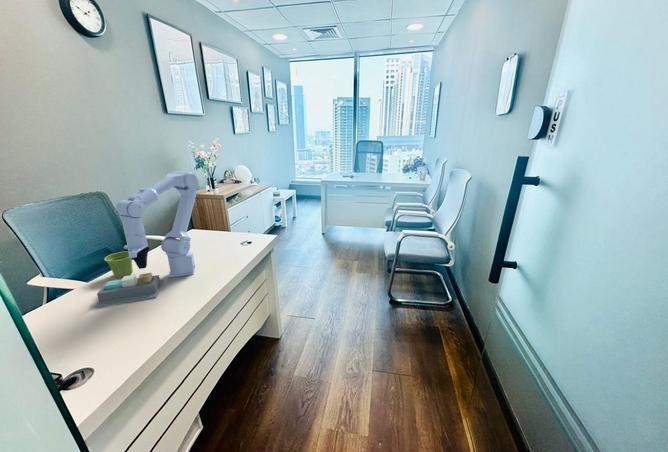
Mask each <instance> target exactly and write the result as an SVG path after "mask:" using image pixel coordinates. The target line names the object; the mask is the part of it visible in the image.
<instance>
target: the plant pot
mask: <svg viewBox="0 0 668 452" xmlns="http://www.w3.org/2000/svg"><path fill="white" fill-rule="evenodd" d="M128 253H129V251H119V252H115V253H111V254H108V255H107V256H105V257H104V262H106V263H107V264H108V265H109V268H110V269H111V272H112V273H113V276H114V277H115V278H117V279H119V278H123V277H124V276H130V275H133V259H132V258H129V255H128Z"/></svg>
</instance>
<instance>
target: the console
mask: <svg viewBox="0 0 668 452" xmlns="http://www.w3.org/2000/svg"><path fill="white" fill-rule="evenodd" d="M136 278H137V284H136V286H130V287H122V283H121V286H120V287H119V288H116V289H109V290H105V285H106V284H107V282H108V281H106V282H105V283H104V284H103V286H102V287H101V288H100V289H99V290H98V291H97V293H96V295H97V298H98V301H97V302H96V304H95V305H94V308H96V309H97V308H102V307H109V306H114V305H115V306H116V305H120V304H126V303H127V304H128V303H133V302H139V301H144V300H150V299H156V298H157V297H158V295H159V292H160V291H161V288H162V285H163V284H164V279H161V278H160V275H159V274H157V275H152V278H153V281H152V283H150V284H143V285H139V283H138V277H136Z"/></svg>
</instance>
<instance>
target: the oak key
mask: <svg viewBox="0 0 668 452" xmlns="http://www.w3.org/2000/svg"><path fill="white" fill-rule="evenodd" d="M152 276H153V273H152V272H147V273H140V274H139V276H138V277H137V278H138V283H139V285H143V284H150V283H152V281H153V278H152Z"/></svg>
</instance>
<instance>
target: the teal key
mask: <svg viewBox="0 0 668 452" xmlns="http://www.w3.org/2000/svg"><path fill="white" fill-rule="evenodd" d="M121 280H122V279H115V280H109V281H106V282H107V284H106V285H105V290H109V289H116V288H119V287H120V286H121Z"/></svg>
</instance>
